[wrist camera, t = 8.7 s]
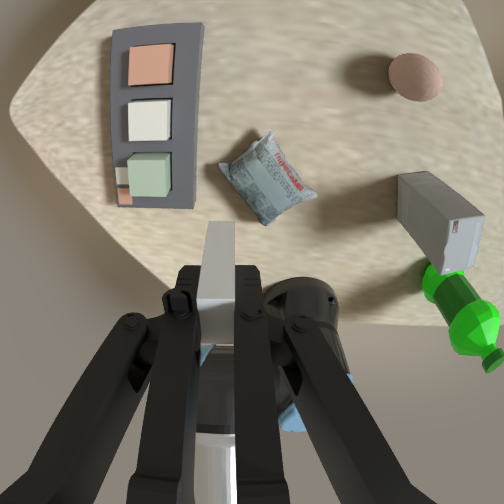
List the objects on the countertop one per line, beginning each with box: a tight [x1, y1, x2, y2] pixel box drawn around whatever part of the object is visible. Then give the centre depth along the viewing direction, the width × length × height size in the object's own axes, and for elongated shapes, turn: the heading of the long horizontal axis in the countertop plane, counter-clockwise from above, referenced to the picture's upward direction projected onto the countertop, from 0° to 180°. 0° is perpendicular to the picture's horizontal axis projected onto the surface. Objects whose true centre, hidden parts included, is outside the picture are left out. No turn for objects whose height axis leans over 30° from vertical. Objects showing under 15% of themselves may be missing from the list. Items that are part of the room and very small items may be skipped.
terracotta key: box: [128, 44, 176, 85], centre depth 28 cm, size 5×5×4 cm
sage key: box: [127, 152, 172, 197], centre depth 35 cm, size 5×5×4 cm
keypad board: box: [110, 23, 204, 209], centre depth 33 cm, size 25×11×3 cm, turn 175°
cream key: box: [128, 98, 173, 141], centre depth 32 cm, size 5×5×4 cm
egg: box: [388, 53, 443, 102], centre depth 28 cm, size 7×7×9 cm
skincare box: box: [397, 172, 485, 276], centre depth 36 cm, size 8×7×16 cm
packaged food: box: [218, 128, 318, 226], centre depth 38 cm, size 9×12×5 cm
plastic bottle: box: [422, 263, 504, 373], centre depth 42 cm, size 10×10×25 cm
